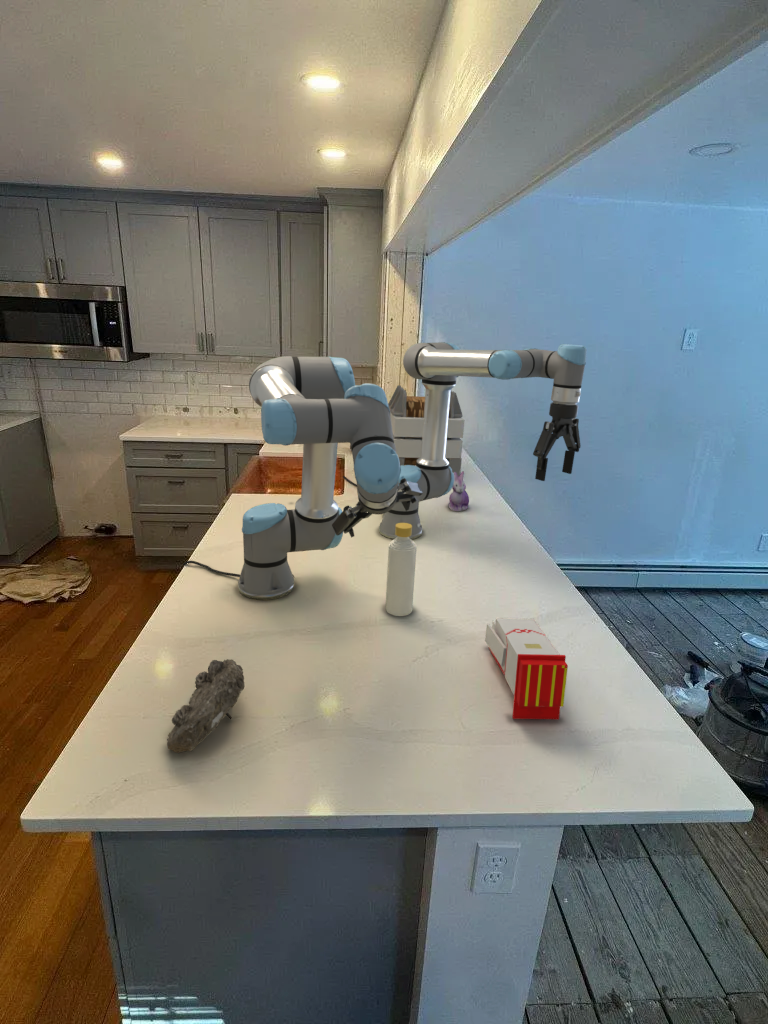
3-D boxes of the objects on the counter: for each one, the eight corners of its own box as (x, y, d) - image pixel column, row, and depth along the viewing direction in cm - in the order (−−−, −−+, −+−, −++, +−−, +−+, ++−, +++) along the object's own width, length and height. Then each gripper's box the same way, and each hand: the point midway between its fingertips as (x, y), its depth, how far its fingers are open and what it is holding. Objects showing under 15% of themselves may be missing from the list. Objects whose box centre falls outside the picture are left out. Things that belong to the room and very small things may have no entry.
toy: (531, 603, 136) (576, 661, 106) (526, 655, 139) (569, 725, 109) (481, 602, 135) (512, 660, 106) (477, 654, 138) (507, 724, 109)
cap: (402, 529, 145) (402, 521, 145) (414, 534, 143) (415, 525, 142) (391, 534, 142) (392, 525, 142) (404, 538, 140) (405, 530, 139)
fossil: (192, 660, 117) (244, 628, 112) (224, 691, 120) (276, 661, 115) (142, 746, 98) (202, 712, 93) (182, 779, 101) (242, 748, 96)
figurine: (455, 513, 222) (459, 476, 217) (441, 505, 231) (444, 469, 226) (475, 510, 226) (479, 474, 221) (460, 502, 235) (464, 467, 230)
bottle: (397, 600, 155) (401, 520, 147) (417, 609, 150) (423, 527, 142) (380, 609, 149) (383, 526, 141) (400, 619, 145) (405, 534, 137)
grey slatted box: (382, 463, 289) (386, 382, 275) (445, 464, 293) (451, 384, 279) (390, 482, 257) (394, 392, 243) (460, 483, 261) (468, 394, 247)
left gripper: (325, 537, 104) (334, 557, 124) (445, 479, 107) (434, 508, 127) (308, 501, 105) (319, 527, 126) (427, 445, 108) (419, 480, 129)
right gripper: (550, 408, 147) (539, 486, 154) (600, 401, 162) (588, 472, 170) (526, 403, 152) (516, 479, 159) (577, 397, 168) (566, 467, 175)
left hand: (377, 518), depth 127 cm, fingers open, 13 cm apart
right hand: (553, 476), depth 165 cm, fingers open, 13 cm apart
